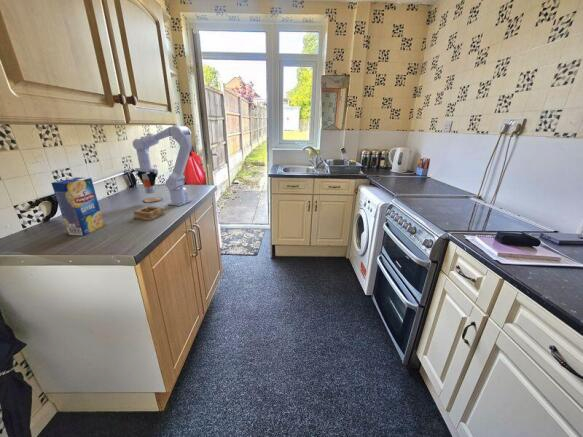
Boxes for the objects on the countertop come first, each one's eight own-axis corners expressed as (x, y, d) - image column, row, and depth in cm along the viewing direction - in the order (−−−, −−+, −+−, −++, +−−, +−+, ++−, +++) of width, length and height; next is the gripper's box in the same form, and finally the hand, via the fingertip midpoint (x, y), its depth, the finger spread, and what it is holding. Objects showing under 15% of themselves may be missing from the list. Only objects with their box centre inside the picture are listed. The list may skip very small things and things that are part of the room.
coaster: (152, 197, 155) (152, 197, 155) (164, 199, 153) (164, 198, 153) (140, 201, 147) (140, 200, 147) (152, 203, 145) (152, 202, 145)
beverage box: (104, 225, 112) (91, 177, 104) (83, 235, 102) (67, 183, 94) (90, 224, 113) (76, 177, 105) (68, 234, 102) (51, 182, 95)
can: (150, 191, 148) (146, 172, 144) (157, 191, 147) (154, 173, 143) (143, 193, 143) (139, 174, 139) (150, 193, 142) (146, 175, 138)
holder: (149, 212, 130) (148, 206, 128) (164, 214, 127) (162, 208, 126) (134, 218, 121) (133, 211, 120) (149, 220, 119) (148, 213, 118)
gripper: (128, 161, 137) (133, 185, 142) (149, 162, 133) (153, 187, 138) (138, 159, 143) (143, 182, 148) (159, 161, 140) (163, 184, 144)
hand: (148, 184), depth 143 cm, fingers closed on can, 5 cm apart
